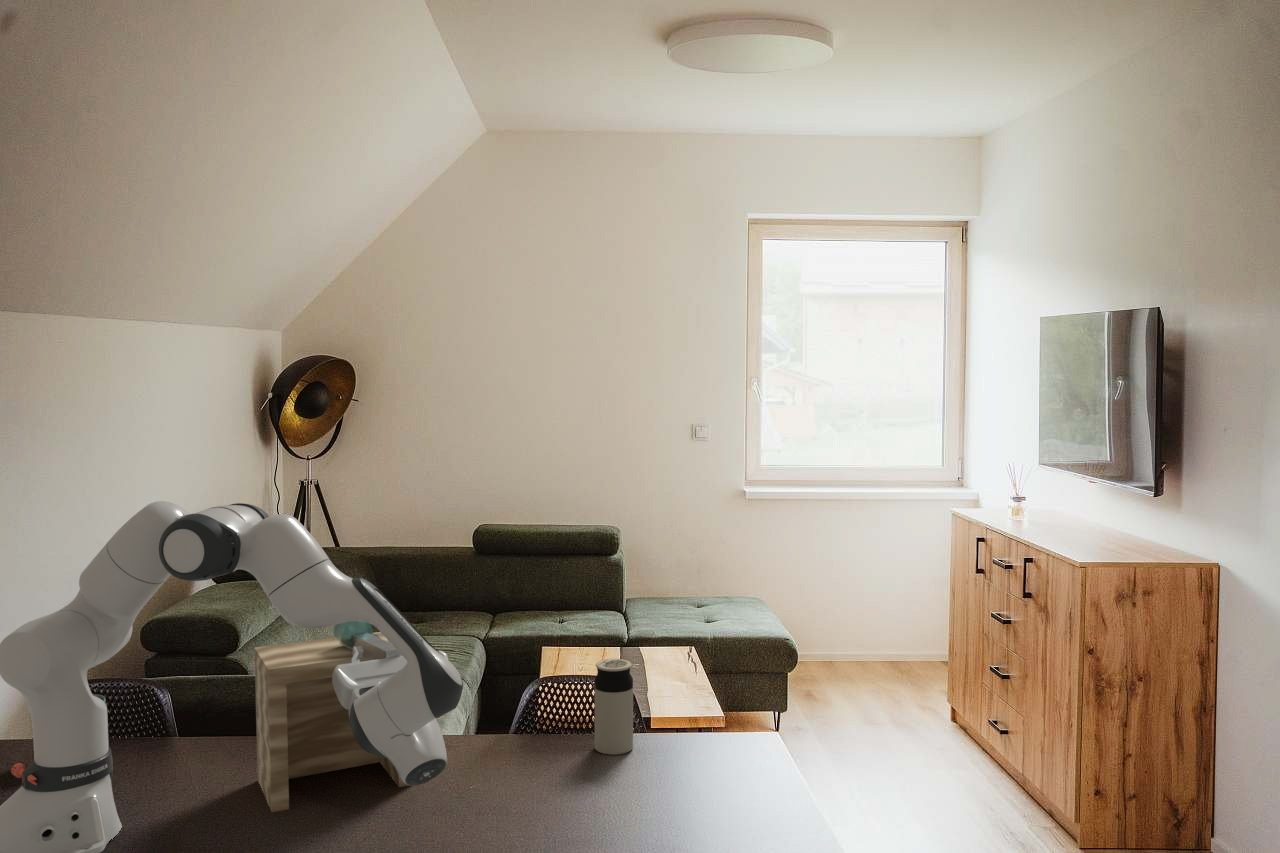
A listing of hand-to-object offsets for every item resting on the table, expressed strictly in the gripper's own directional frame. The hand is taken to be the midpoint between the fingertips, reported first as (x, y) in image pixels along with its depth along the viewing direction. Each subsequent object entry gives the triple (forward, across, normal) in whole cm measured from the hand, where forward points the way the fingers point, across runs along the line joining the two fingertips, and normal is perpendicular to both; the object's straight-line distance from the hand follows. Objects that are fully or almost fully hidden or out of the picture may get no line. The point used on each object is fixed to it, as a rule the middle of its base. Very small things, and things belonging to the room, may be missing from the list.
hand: (383, 645), depth 189 cm
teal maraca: (+3, +1, +5) cm, 6 cm away
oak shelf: (-3, +6, +32) cm, 33 cm away
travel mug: (-12, -48, +27) cm, 57 cm away
